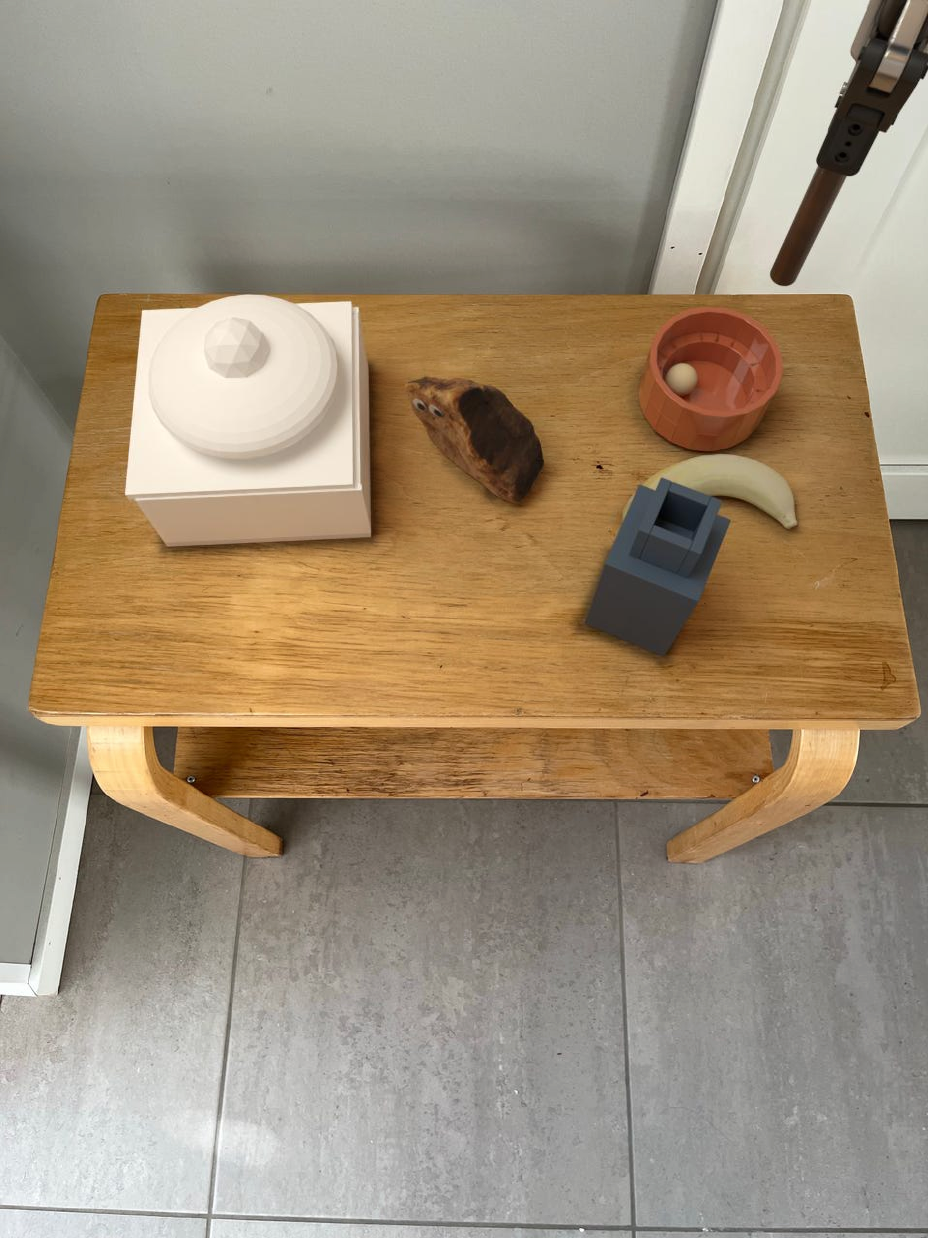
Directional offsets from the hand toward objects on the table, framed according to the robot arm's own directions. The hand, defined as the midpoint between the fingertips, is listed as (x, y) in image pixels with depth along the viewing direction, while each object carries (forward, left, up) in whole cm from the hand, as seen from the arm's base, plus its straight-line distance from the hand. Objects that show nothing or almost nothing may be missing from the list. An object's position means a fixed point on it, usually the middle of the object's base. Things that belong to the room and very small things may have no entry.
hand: (842, 151), depth 47 cm
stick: (0, 0, -9) cm, 9 cm away
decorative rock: (+18, +5, -36) cm, 40 cm away
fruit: (-2, +2, -36) cm, 36 cm away
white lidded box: (+35, +12, -36) cm, 51 cm away
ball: (+4, -9, -33) cm, 35 cm away
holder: (0, +12, -35) cm, 37 cm away
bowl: (+2, -9, -35) cm, 37 cm away
